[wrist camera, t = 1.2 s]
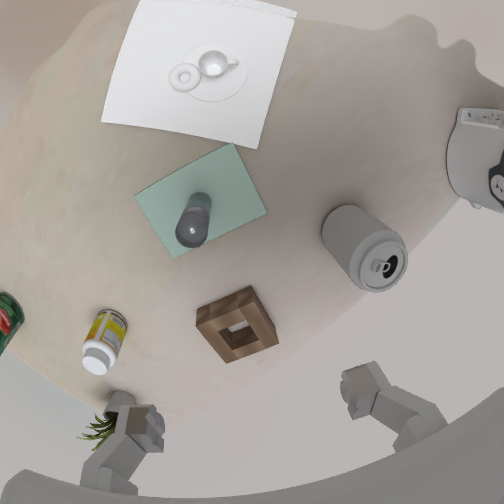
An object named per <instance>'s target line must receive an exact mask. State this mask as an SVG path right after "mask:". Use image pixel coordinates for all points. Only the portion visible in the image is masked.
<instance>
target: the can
mask: <svg viewBox="0 0 504 504" xmlns="http://www.w3.org/2000/svg"><path fill="white" fill-rule="evenodd" d="M322 238H323V243H324V244H325V246H326V247H327V249H328V250H329V252H330V253H331V254H332V255H333V257H334V258H335V259H336V261H337V262H338V263H339V264H340V266H341V267H342V268H343V270H344V271H345V272H346V274H347V275H348V276H349V278H350V279H351V280H352V282H353V283H354V284H355V285H356V286H358V287H359V288H360V289H364V290H368V291H370V292H375V293H377V292H383V291H386V290H388V289H390V288H392V287H393V286H394V285H396V284H397V283H398V282H399V280H400V279H401V278H402V276H403V274H404V273H405V271H406V268H407V264H408V254H407V251H406V248H405V244H404V242H403V239H402V238H401V237H400V236H399V235H398V234H397V233H396V232H394V231H393V230H392V229H390V228H389V227H388V226H386V225H385V224H383V223H382V222H381V221H379V220H378V219H376V218H375V217H374V216H372V215H371V214H369V213H368V212H366V211H365V210H363V209H362V208H360V207H358V206H355V205H344V206H341V207H338V208H337V209H335V210H334V211H332V212H331V213H330V215H329V216H328V217H327V218H326V220H325V223H324V225H323V229H322Z"/></svg>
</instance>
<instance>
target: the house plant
mask: <svg viewBox="0 0 504 504" xmlns="http://www.w3.org/2000/svg"><path fill="white" fill-rule="evenodd" d="M121 405H135V398H134V397H133V396H132V395H131V394H129V393H127V392H124V391H115V392H114V393H113V395H112V397H111V399H110V401H109V403H108V405H107V407H106V409H105V411H104V413H103V416H104V418H105V419H106V420H107V422H105V423H104V422H103V421H102V420H100V419H99V418H98V417H97V416H96V415H95V418H96V420H97V421H98V422H99V423H101V424H91V423H90V424H91V425H92V426H93V427H88V428H92V429H94V428H103V427H106V426H108V425H110V424H111V423H112V424H111V425H110V426H108V427H107V428H106V429H103V430H96V429H94V430H95V431H97V432H99V434H96V435H87V436H86V437H89V438H80V437H78V438H80V439H84V440H94V439H100V438H104V439H102V440H101V441H100V442H99V443H98V444H97V446H96V447H95V448H94V449H92V451H94V450H97V449H98V448H99V447H100V446H101V445H102V443H103V442H104V441H105V440H106V439H107V438H108V437H109V436H110V435H111V434H114V433H115V428H116V423H117V418H118V414H119V409H120V407H121ZM106 420H104V421H106ZM108 430H109V431H108ZM107 431H108V432H107ZM104 432H106V433H104ZM101 433H103V435H100V434H101ZM85 435H86V434H85ZM99 435H100V436H99Z"/></svg>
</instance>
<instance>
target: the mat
mask: <svg viewBox="0 0 504 504" xmlns="http://www.w3.org/2000/svg"><path fill="white" fill-rule="evenodd" d="M196 192H203V193H206V194H207V195H208V196H209V197H210V198H211V201H212V206H211V213H210V221H209V228H208V236H207V239H206V241H205V242H204V243H206V242H208V241H210V240H213V239H215V238H217V237H219V236H221V235H223V234H225V233H227V232H229V231H231V230H233V229H235V228H237V227H239V226H241V225H243V224H245V223H248V222H250V221H252V220H254V219H256V218H258V217H260V216H262V215H264V214H267V211H266V209H265V207H264V205H263V203H262V201H261V198H260V196H259V194H258V192H257V190H256V188H255V186H254V184H253V182H252V180H251V178H250V176H249V174H248V172H247V170H246V168H245V166H244V164H243V162H242V160H241V158H240V156H239V154H238V152H237V150H236V148H235V146H234V144H233V142H232V143H229V144H227V145H225V146H223V147H221V148H219V149H217V150H215V151H213V152H211V153H209V154H207V155H205V156H203V157H201V158H199V159H197V160H195V161H194V162H192V163H190V164H188V165H186V166H184V167H183V168H181V169H179V170H177V171H175V172H174V173H172V174H170V175H168V176H166V177H165V178H163V179H161V180H160V181H158V182H156V183H154V184H153V185H151V186H149V187H148V188H146V189H144V190H143V191H141V192H140V193H138V194H136V195H135V196H134V197H135V199H136V201H137V202H138V204H139V206H140V208H141V209H142V211H143V213H144V214H145V216H146V217H147V219H148V221H149V222H150V224H151V226H152V227H153V229H154V230H155V232H156V234H157V235H158V237H159V238H160V240H161V242H162V243H163V245H164V246H165V248H166V249H167V251H168V252H169V254H170V255H171V257H172V259H174V258H176V257H178V256H180V255H182V254H184V253H186V252H188V251H190V250H192V249H194V248H187V247H184V246H183V245H181V244H180V243H179V242H178V240H177V239H176V236H175V229H176V226H177V224H178V222H179V219H180V217H181V215H182V213H183V210H184V208H185V206H186V204H187V202H188V199H189V197H190V196H191V195H192V194H194V193H196ZM204 243H203V244H204Z"/></svg>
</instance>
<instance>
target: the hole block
mask: <svg viewBox="0 0 504 504" xmlns="http://www.w3.org/2000/svg"><path fill="white" fill-rule="evenodd" d="M244 320H247V322H248V323H249V325H250V326H248V327H245V328H243V329H240V330H238V331H235V332H233V333H231V332H230V331H229V330H228V328H227V327H230V326H232V325H234V324H237V323H239V322H242V321H244ZM196 327H197V329H198V330H199V331H200V332H201V334H202V335H203V336H204V337H205V339H206V340H207V341H208V342H209V344H210V345H211V346H212V347H213V348H214V350H215V351H216V352H217V353H218V354H219V356H220V357H221V358H222V359H223V360H224V362H225V363H226V364H227V363H230V362H232V361H235V360H238V359H241V358H243V357H246V356H249V355H251V354H254V353H256V352H259V351H262V350H264V349H267V348H269V347H272V346H274V345H276V344H279V341H278V337H277V333H276V329H275V326H274V324H273V323H272V321H271V319H270V317H269V316H268V314H267V312H266V311H265V309H264V307H263V305H262V304H261V302H260V300H259V298H258V297H257V295H256V293H255V292H254V290H253V288H252V286H249V287H247V288H245V289H243V290H240V291H238V292H236V293H234V294H231V295H229V296H227V297H224V298H222V299H220V300H218V301H215V302H213V303H211V304H208V305H206V306H204V307H201V308H199V309H197V318H196Z"/></svg>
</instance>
